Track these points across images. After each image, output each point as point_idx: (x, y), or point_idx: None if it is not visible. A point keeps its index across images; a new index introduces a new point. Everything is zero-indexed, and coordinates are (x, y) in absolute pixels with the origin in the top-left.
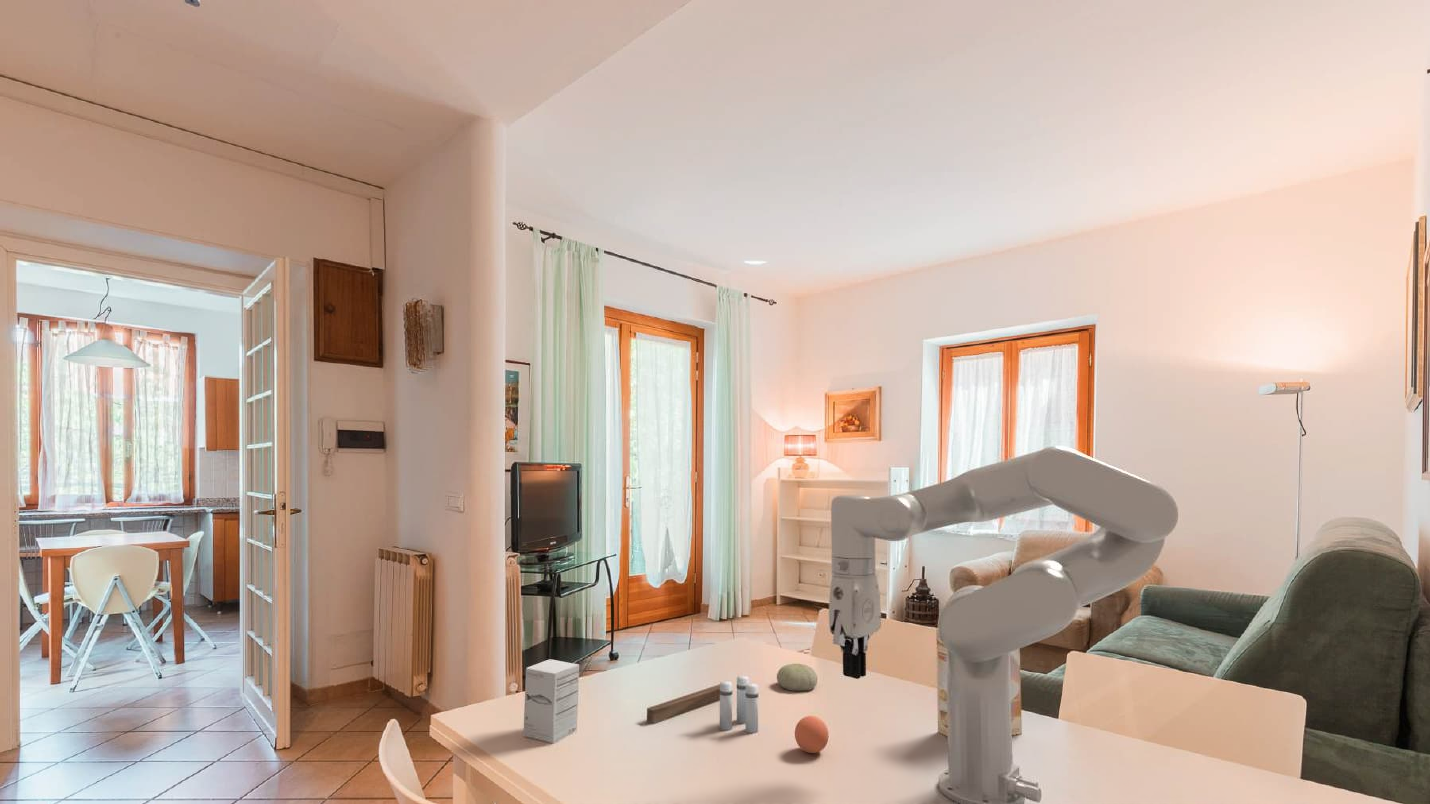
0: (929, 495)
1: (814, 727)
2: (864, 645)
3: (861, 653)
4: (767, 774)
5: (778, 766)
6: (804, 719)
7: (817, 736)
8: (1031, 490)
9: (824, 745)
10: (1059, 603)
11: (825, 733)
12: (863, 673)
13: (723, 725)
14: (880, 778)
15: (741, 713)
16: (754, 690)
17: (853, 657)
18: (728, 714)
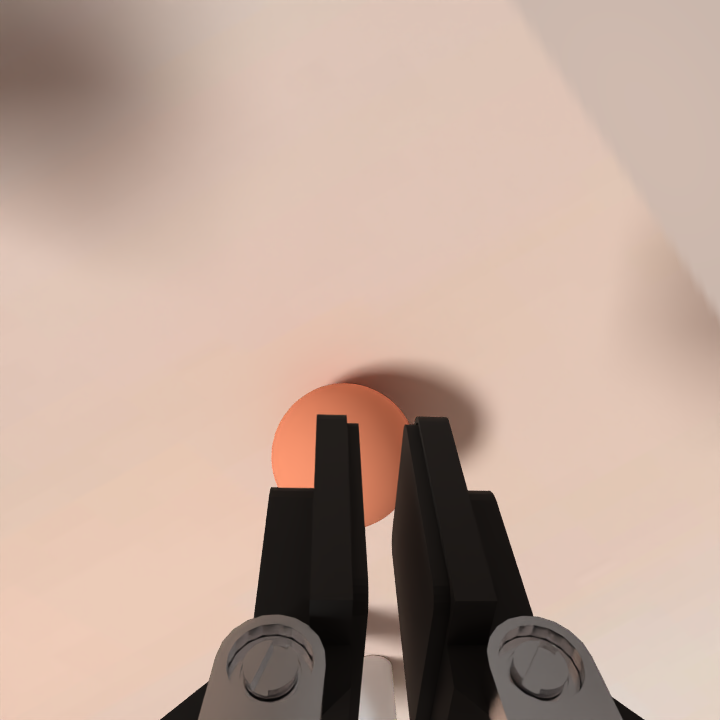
0: None
1: (385, 454)
2: (302, 707)
3: (365, 616)
4: (609, 419)
5: (530, 428)
6: (374, 514)
7: (390, 418)
8: None
9: (347, 384)
10: None
11: (342, 410)
12: (355, 432)
13: (391, 676)
14: (378, 78)
15: None
16: None
17: (512, 612)
18: (383, 703)
